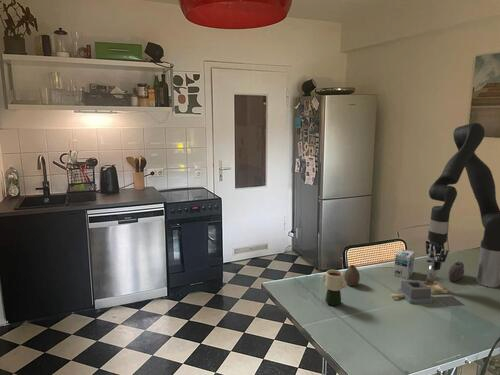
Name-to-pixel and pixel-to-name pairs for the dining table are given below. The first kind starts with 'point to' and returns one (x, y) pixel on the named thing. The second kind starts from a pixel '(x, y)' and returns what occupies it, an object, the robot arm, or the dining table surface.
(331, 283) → the character mug
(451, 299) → the mat
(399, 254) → the light bulb box
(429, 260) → the grey tabbed block
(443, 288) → the tray
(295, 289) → the dining table surface
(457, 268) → the perforated stone tool
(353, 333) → the dining table surface
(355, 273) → the vase
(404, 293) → the block
